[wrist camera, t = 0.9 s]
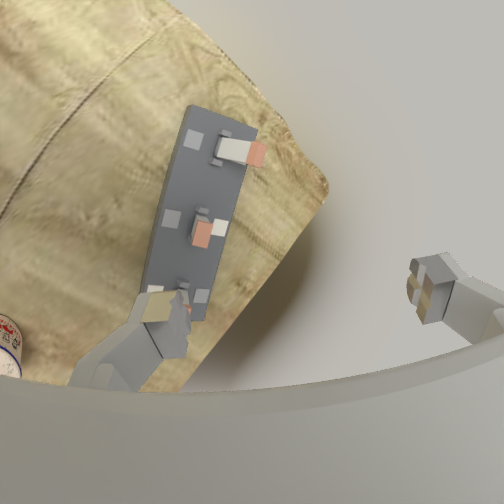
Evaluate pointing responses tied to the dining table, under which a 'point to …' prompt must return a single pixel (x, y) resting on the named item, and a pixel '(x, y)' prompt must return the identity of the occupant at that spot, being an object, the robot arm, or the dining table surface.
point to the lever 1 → (185, 298)
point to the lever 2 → (241, 151)
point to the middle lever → (201, 231)
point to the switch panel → (195, 208)
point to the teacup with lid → (10, 348)
